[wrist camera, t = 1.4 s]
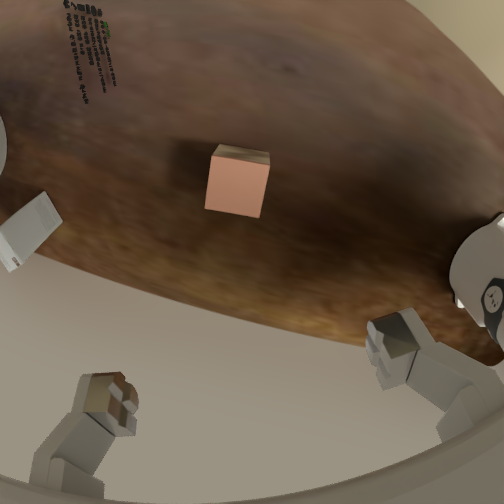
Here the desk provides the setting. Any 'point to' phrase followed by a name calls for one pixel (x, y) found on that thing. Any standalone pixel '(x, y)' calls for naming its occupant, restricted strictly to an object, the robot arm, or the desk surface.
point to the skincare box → (27, 230)
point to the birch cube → (237, 180)
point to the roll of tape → (2, 145)
